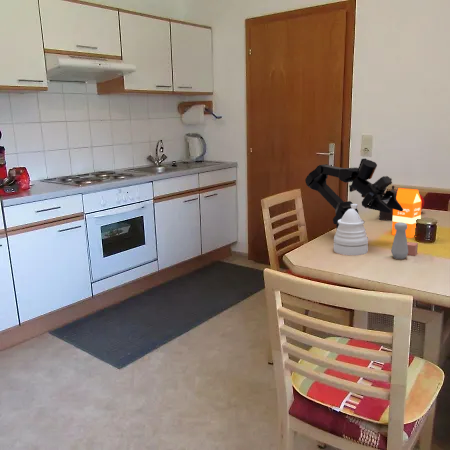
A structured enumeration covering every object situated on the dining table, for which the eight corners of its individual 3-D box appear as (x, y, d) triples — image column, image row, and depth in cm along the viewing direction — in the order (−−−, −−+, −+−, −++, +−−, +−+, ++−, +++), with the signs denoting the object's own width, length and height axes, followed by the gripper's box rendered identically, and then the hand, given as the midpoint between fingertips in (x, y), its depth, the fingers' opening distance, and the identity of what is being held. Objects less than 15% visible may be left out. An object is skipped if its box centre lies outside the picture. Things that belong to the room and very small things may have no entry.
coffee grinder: (380, 215, 232) (382, 180, 228) (403, 216, 227) (405, 181, 223) (375, 222, 219) (376, 185, 215) (399, 223, 214) (401, 186, 209)
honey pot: (344, 244, 185) (345, 201, 180) (373, 249, 176) (375, 204, 171) (327, 251, 176) (327, 206, 172) (356, 257, 167) (358, 210, 163)
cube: (403, 254, 168) (404, 244, 167) (405, 251, 171) (406, 241, 170) (414, 256, 166) (415, 245, 165) (417, 253, 169) (417, 243, 168)
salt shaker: (409, 260, 161) (411, 224, 158) (392, 259, 162) (393, 224, 159) (406, 255, 167) (407, 221, 164) (389, 255, 168) (391, 221, 165)
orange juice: (411, 238, 189) (413, 190, 184) (391, 234, 195) (393, 189, 191) (420, 234, 194) (422, 188, 189) (400, 231, 200) (402, 186, 196)
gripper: (363, 171, 169) (395, 194, 160) (388, 170, 181) (419, 192, 173) (349, 196, 175) (379, 219, 166) (374, 193, 187) (404, 215, 178)
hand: (396, 211), depth 170 cm, fingers open, 9 cm apart
